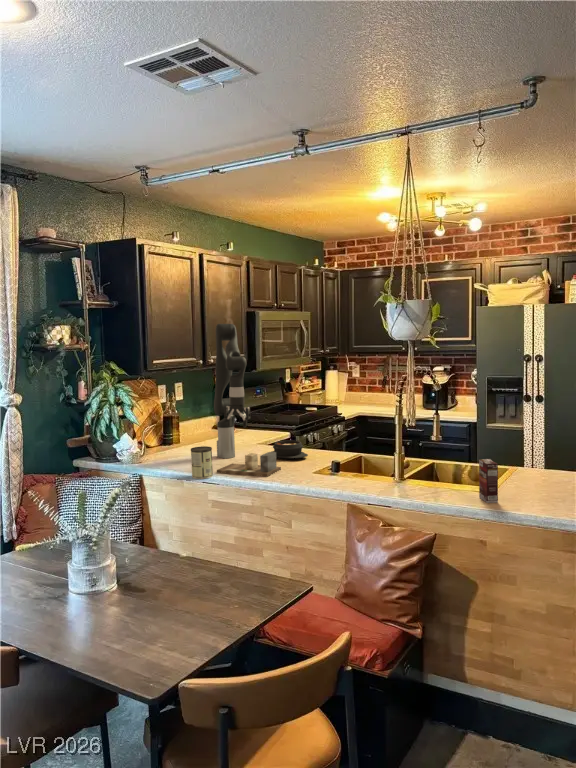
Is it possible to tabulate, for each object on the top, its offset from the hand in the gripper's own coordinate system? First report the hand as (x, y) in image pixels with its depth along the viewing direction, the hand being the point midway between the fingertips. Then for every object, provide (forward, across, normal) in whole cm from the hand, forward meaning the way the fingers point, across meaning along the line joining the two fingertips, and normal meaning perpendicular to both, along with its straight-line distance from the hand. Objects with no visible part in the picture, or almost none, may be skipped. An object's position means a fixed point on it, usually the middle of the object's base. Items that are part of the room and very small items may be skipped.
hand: (237, 426), depth 316 cm
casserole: (+22, +13, +33) cm, 42 cm away
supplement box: (+19, +126, -20) cm, 129 cm away
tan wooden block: (+20, +10, -7) cm, 23 cm away
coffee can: (+22, -8, -22) cm, 32 cm away
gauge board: (+21, +9, -5) cm, 24 cm away
